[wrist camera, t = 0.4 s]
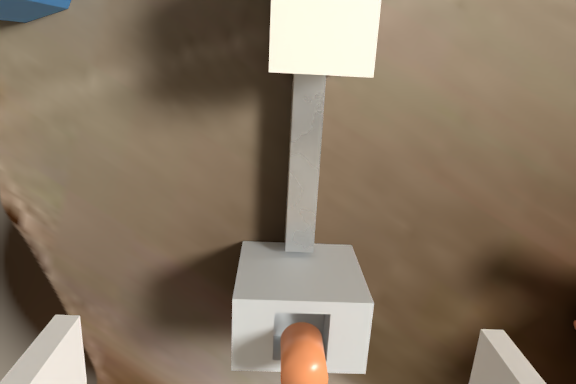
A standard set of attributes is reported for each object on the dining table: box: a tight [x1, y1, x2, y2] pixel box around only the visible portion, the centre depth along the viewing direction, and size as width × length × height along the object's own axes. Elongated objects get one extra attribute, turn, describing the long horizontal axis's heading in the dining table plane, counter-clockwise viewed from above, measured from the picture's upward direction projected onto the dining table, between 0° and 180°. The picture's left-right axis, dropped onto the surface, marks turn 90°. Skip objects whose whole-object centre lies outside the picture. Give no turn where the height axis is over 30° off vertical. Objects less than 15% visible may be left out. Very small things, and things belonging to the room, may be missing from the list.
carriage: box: [269, 0, 381, 78], centre depth 29 cm, size 8×6×11 cm
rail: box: [285, 74, 326, 253], centre depth 35 cm, size 26×2×3 cm, turn 177°
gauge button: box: [280, 322, 328, 384], centre depth 30 cm, size 3×3×4 cm
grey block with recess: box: [231, 241, 374, 374], centre depth 37 cm, size 6×10×10 cm, turn 87°
